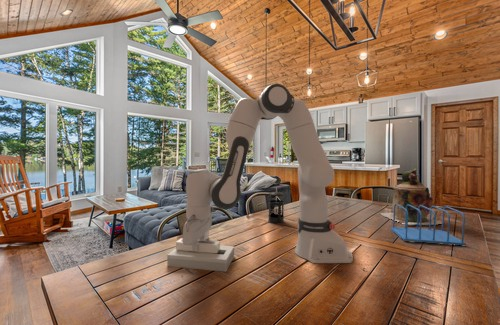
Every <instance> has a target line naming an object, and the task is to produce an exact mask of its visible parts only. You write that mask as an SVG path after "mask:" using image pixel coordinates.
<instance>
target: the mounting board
mask: <svg viewBox="0 0 500 325" xmlns="http://www.w3.org/2000/svg"><path fill="white" fill-rule="evenodd" d="M234 257H235V246H234V245H233V246H232V245H221V244H220V250H219V251H218V252H217V253H206V252H194V251H183V250H176V247H175V248H174V249H172V250H171V251H170V252H169V253H168V254H167V256H166V258H167V260H166V262H167V265H166V266H167V267H173V268H184V269H194V270H202V271H203V270H204V271H214V272H215V271H216V272H227V271H228V269H229V268H230V265H231V263H232V261H233V260H234Z"/></svg>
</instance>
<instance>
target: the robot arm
mask: <svg viewBox="0 0 500 325" xmlns="http://www.w3.org/2000/svg"><path fill="white" fill-rule="evenodd" d="M277 117H279V118H280V119H281V120H282V121H283V123H284V126H285V129H286V133H287V135H288V136H287V137H288V139H289V142H290V145H291V148H292V151H293V153H294V155H295V158H296V160H297V162H298V167H297V179H298V180H297V181H298V182H297V183H298V193H299V194H298V195H299V217H298V221H297V231H298V234H297V235H298V236H297V242H296V246H295V249H294V252H295V254H296V256H298V257H300V258H303V259H305V260H307V261H309V262H311V263H313V264H351V263H353V261H354V256H353V254H352V252H351V251H350V249H348V247H347V244H346V243H347V242H346V241H345V239H344V238H343V237H342V236H341V235H339V233H337V232H336V231H334V230H335V229H336V226H335V224H334V223H333V222H332V221H331V220H330V219H329V220H328V207H329V206H328V205H329V202H328V197H327V193H326V192H327V191H326V187H328V186H330V185H331V184H332V183H333V182H334V179H335V170H334V168H333V167H332V165H331V163H330V160H329V158H328V156H327V154H326V152H325V149H324V148H323V146H322V143H321V141H320V139H319V135H318V132H317V130H316V126H315V122H314V120H313V117H312V114H311V112H310V110H309V107H308V106H307V104H306V103H305V101H304V100H303V99H301V98H300V99H299V98H298V99H297V98H296V99H295V97H294V95H293V94H292V93H291V92H290V91H289V89H288V88H287V87H286V86H285V85H283V84H281V83H273V84H269V85H268V86H266V87H265V88H264V89H263V91H262V92H261V93H260V94H259V96H258V98H256V99H253V98H250V97H242V98H240V99H239V100H238V102H237V103H236V104H235V107H234V108H233V111H232V112H231V115H230V118H229V120H228V124H227V127H226V131H225V141H226V144H227V147H228V157H227V160H226V163H225V167H224V170H223V173H222V176H221V175H218V174H216V173H213V172H212V171H210V169H208V168H197V169H194V170H191V171H189V173H188V174H187V176H186V177H187V178H186V184H185V185H186V186H185V193H186V199H187V200H186V205H185V209H186V210H185V211H186V214H185V217H186V218H187V219H186V220H187V221H185V223H184V224H183V228H182V238H183V244H184V245H192V250H193V251H194V252H197V250H198V249H199V248H198V247H199V246H198V245H197V242H198V240H204V238H205V233H206V232H207V231H208V230H209V231H210V229H211V228H212V225H213V224H212V223H213V212H214V206H212V205H211V202H212V203H213V205H215V206H216V207H217V209H221V210H231V209H232V208H234V207H235V206H237V204H239V202H240V200H241V195H242V192H241V179H242V175H243V172H244V169H245V163H246V161H247V160H246V159H247V157H248V153H249V150H250V147H251V145H252V143H253V140H254V137H255V134H256V131H257V129H258V125H259V123H260V120H266V121H267V120H269V121H270V120H273V119H275V118H277Z"/></svg>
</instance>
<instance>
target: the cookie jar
mask: <svg viewBox="0 0 500 325" xmlns="http://www.w3.org/2000/svg"><path fill="white" fill-rule="evenodd" d="M401 179H402V183H400V184H395V185H393V186H392V188H393V190H394V193H393V198H392V204H391V205H392V212H385V213H383V212H380V215H381V216H382V217H384V218H387V219H389V220H391V219H392V221H393V217H394V205H395V204H398V205H400V206H402V207H404V208H405V209H406V205H407V204H409V205H411V206H413V207H415V208H417V209H418V207H419V205H422V206H425V207H427V208H429V209H430V208H431V206H430V205H432V203H433V201H434V198H433V197H432V196H431V193H430V188H428V187H427V186H425V185H424V184H423V183H421V182H420V181H419V180H418V176H417V168H414V169H412V170H405V171H404V172H403V173H402V175H401ZM398 205H396V207H395V221H397V222H396V223H398V222H399V221H405V212H406V210H404V209H403V208H401V207H399V206H398ZM422 206H420V209H419V210H420V211H421V214H422V222H421V226H429V223H430V217H428V215H430V210H428V209H426V208H424V207H422ZM407 211H408V226H417V217H418V210H416V209H414V208H412V207H410V206H408V207H407ZM402 224H405V223H402ZM402 224H401V225H402ZM438 224H442V220H437V219H436V224H435V226H439V225H438ZM419 226H420V213H419ZM431 226H434V218H431Z"/></svg>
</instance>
